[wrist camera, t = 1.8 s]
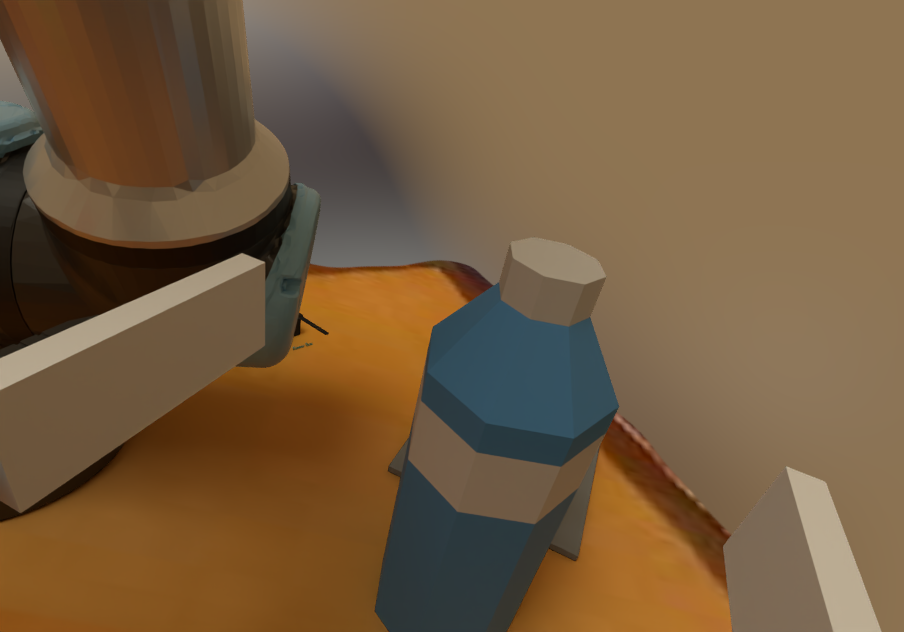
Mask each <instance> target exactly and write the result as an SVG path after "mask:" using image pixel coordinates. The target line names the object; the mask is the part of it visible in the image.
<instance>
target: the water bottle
mask: <svg viewBox="0 0 904 632" xmlns="http://www.w3.org/2000/svg"><path fill="white" fill-rule="evenodd" d="M605 279H606V275H605V273H604V271H603V269H602V267H601V265H600V264H599V261H598V260H597V259H595V258H593V257H591V256H589V255H588V254H586V253H583V252H582V251H580V250H578V249H576V248H574V247H572V246H570V245H568V244H563V243H559V242H554V241H549V240H545V239H540V238H535V237H532V238H528V239H523V240H518V241H514V242H510V245H509V249H508V252H507V256H506V260H505V263H504V267H503V270H502V274H501V278H500V281H499V283H497V284H496V285H494V286H493V287H491V288H490V289H488V290H487V291H485V292H484V293H482V294H481V295H479V296H478V297H476V298H475V299H474V300H472V301H471V302H469V303H468V304H466V305H465V306H463V307H462V308H460V309H459V310H457V311H456V312H454V313H453V314H451V315H450V316H448V317H447V318H445V319H444V320H443V321H441V322H440V323H438V324H437V325H435V326H434V327H433V329H432V333H431V338H430V343H429V347H428V352H427V357H426V361H425V366H424V371H423V375H422V380H421V385H420V389H419V394H418V399H417V403H416V408H415V413H414V417H413V422H412V427H411V431H410V436H409V441H408V445H407V450H406V455H405V459H404V464H403V469H402V473H401V478H400V483H399V488H398V492H397V497H396V502H395V506H394V511H393V516H392V520H391V525H390V530H389V534H388V539H387V544H386V548H385V553H384V558H383V563H382V570H381V576H380V582H379V588H378V594H377V600H376V606H375V612H376V614H377V615H378V617H379V618H380V619H381V621H382V622H383V624H384V625H385V626H386V628H387V629H388V631H389V632H506V631H507V630H508V628H509V626H510V624H511V622H512V620H513V618H514V616H515V614H516V612H517V610H518V608H519V606H520V604H521V602H522V600H523V598H524V596H525V594H526V592H527V590H528V588H529V586H530V584H531V582H532V580H533V578H534V576H535V574H536V572H537V570H538V568H539V566H540V564H541V562H542V560H543V558H544V556H545V554H546V552H547V550H548V548H549V546H550V544H551V542H552V540H553V538H554V536H555V534H556V532H557V530H558V528H559V526H560V524H561V522H562V520H563V518H564V516H565V514H566V512H567V510H568V508H569V506H570V504H571V502H572V500H573V498H574V496H575V494H576V492H577V490H578V488H579V486H580V484H581V482H582V480H583V478H584V476H585V474H586V472H587V470H588V468H589V466H590V464H591V462H592V460H593V458H594V456H595V454H596V452H597V450H598V448H599V446H600V444H601V442H602V440H603V438H604V436H605V434H606V432H607V430H608V428H609V426H610V424H611V422H612V420H613V418H614V416H615V414H616V412H617V410H618V408H619V405H618V402H617V399H616V396H615V393H614V389H613V386H612V383H611V380H610V377H609V374H608V371H607V368H606V365H605V362H604V358H603V355H602V353H601V350H600V346H599V343H598V340H597V337H596V334H595V331H594V328H593V325H592V322H591V318H590V316H591V313H592V311H593V309H594V306H595V304H596V301H597V299H598V296H599V294H600V291H601V289H602V287H603V284H604V282H605Z"/></svg>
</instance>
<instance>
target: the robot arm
mask: <svg viewBox="0 0 904 632" xmlns="http://www.w3.org/2000/svg"><path fill="white" fill-rule="evenodd" d="M0 40H1V42H2V44H3V46H4V48H5V51H6V53H7V55H8V57H9V59H10V61H11V63H12V66H13V68H14V70H15V72H16V74H17V76H18V78H19V81H20V83H21V85H22V87H23V89H24V91H25V93H26V96H27V98H28V100H29V102H30V104H31V106H32V109H33V110H34V112H33V111H32V110H30V109H28V108H26V107H24V108H23V107H22V106H20V105H18V104H15V103H9V102H4V101H0V520H3V519H6V518H10V517H13V516H16V515H19V514H22V513H25V512H28V511H30V510H33V509H35V508H38V507H40V506H42V505H45V504H47V503H49V502H51V501H53V500H55V499H57V498H59V497H61V496H63V495H65V494H67V493H69V492H70V491H72V490H74V489H75V488H77V487H78V486H80V485H81V484H83V483H84V482H86V481H87V480H89V479H90V478H91V477H93V476H94V475H95V474H96V473H98V472H99V471H100V470H101V469H102V468H103V467H105V466H106V465H107V464H108V463H109V462H110V461H111V460H112V459H113V457H114V456H115V455H116V454H117V453H118V451H119V450H120V449H121V447H122V446H123V444H124V442H125V441H127V440H128V439H130V438H131V437H133V436H134V435H136V434H137V433H138V432H140V431H141V430H143V429H144V428H146V427H147V426H149V425H150V424H152V423H153V422H154V421H156V420H157V419H159V418H160V417H162V416H163V415H165V414H166V413H168V412H169V411H171V410H172V409H173V408H175V407H176V406H178V405H179V404H181V403H182V402H184V401H185V400H187V399H188V398H189V397H191V396H192V395H194V394H195V393H197V392H198V391H200V390H201V389H203V388H204V387H205V386H207V385H208V384H210V383H211V382H213V381H214V380H216V379H217V378H219V377H220V376H221V375H223V374H224V373H226V372H227V371H229V370H230V369H232V368H233V367H256V368H266V367H271V366H274V365H276V364H278V363H279V362H281V361H282V360H283V359H284V358H285V357H286V355H287V354H288V352H289V350H290V347H291V344H292V340H293V336H294V332H295V328H296V324H297V319H298V315H299V311H300V306H301V302H302V297H303V293H304V288H305V283H306V279H307V274H308V269H309V265H310V259H311V254H312V249H313V245H314V240H315V235H316V230H317V224H318V219H319V214H320V206H321V199H320V195H319V194H318V193H317V192H316V191H315V190H313V189H310V188H308V187H306V186H305V185H304V184H303V183H295V184H293V185H291V183H290V167H289V161H288V156H287V154H286V151H285V149H284V147H283V146H282V144H281V143H280V141H279V140H278V139H277V138H276V137H275V136H274V134H273V133H272V132H271V131H269V130H268V129H267V128H266V127H265V126H263V125H262V124H261V123H259V122H258V121H256V120H255V119H254V111H253V101H252V90H251V80H250V70H249V60H248V50H247V41H246V31H245V22H244V11H243V1H242V0H0ZM723 550H724V559H725V568H726V577H727V586H728V595H729V605H730V614H731V623H732V632H881V629H880V627H879V624H878V621H877V619H876V616H875V613H874V611H873V608H872V605H871V602H870V600H869V597H868V595H867V592H866V589H865V586H864V584H863V582H862V578H861V576H860V573H859V570H858V568H857V565H856V562H855V560H854V557H853V554H852V552H851V549H850V547H849V544H848V541H847V538H846V536H845V533H844V530H843V528H842V525H841V522H840V520H839V517H838V514H837V511H836V509H835V506H834V503H833V501H832V498H831V495H830V493H829V490H828V487H827V485H826V482H825V481H822V480H819V479H817V478H814V477H812V476H809V475H807V474H804V473H801V472H799V471H796V470H794V469H791V468H789V467H785V468H784V469H783V470H782V472H781V473H780V474H779V475H778V477H777V478H776V479H775V481H774V482H773V483H772V485H771V486H770V487H769V488H768V490H767V491H766V492H765V494H764V495H763V496H762V497H761V498H760V500H759V501H758V502H757V504H756V505H755V506H754V508H753V509H752V510H751V511H750V513H749V514H748V515H747V517H746V518H745V519H744V520H743V521H742V523H741V524H740V525H739V527H738V528H737V529H736V531H735V532H734V533H733V534H732V536H731V537H730V538H729V539H728V541H727V542H726V543H725V545H724V546H723Z"/></svg>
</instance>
